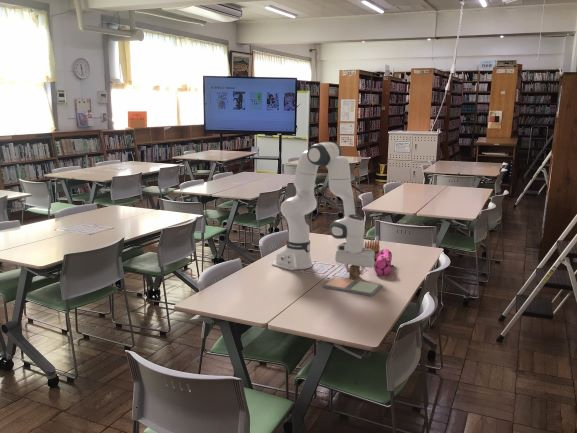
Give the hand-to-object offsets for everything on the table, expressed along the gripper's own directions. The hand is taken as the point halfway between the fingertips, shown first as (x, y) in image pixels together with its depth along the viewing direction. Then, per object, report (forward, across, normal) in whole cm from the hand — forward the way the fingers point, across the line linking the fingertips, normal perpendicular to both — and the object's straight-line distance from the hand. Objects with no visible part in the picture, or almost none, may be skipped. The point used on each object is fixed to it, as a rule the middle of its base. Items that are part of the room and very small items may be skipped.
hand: (354, 273), depth 247 cm
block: (+2, 0, 0) cm, 2 cm away
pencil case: (+2, -9, -18) cm, 21 cm away
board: (+2, -4, +14) cm, 15 cm away
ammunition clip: (+2, +2, -31) cm, 31 cm away
